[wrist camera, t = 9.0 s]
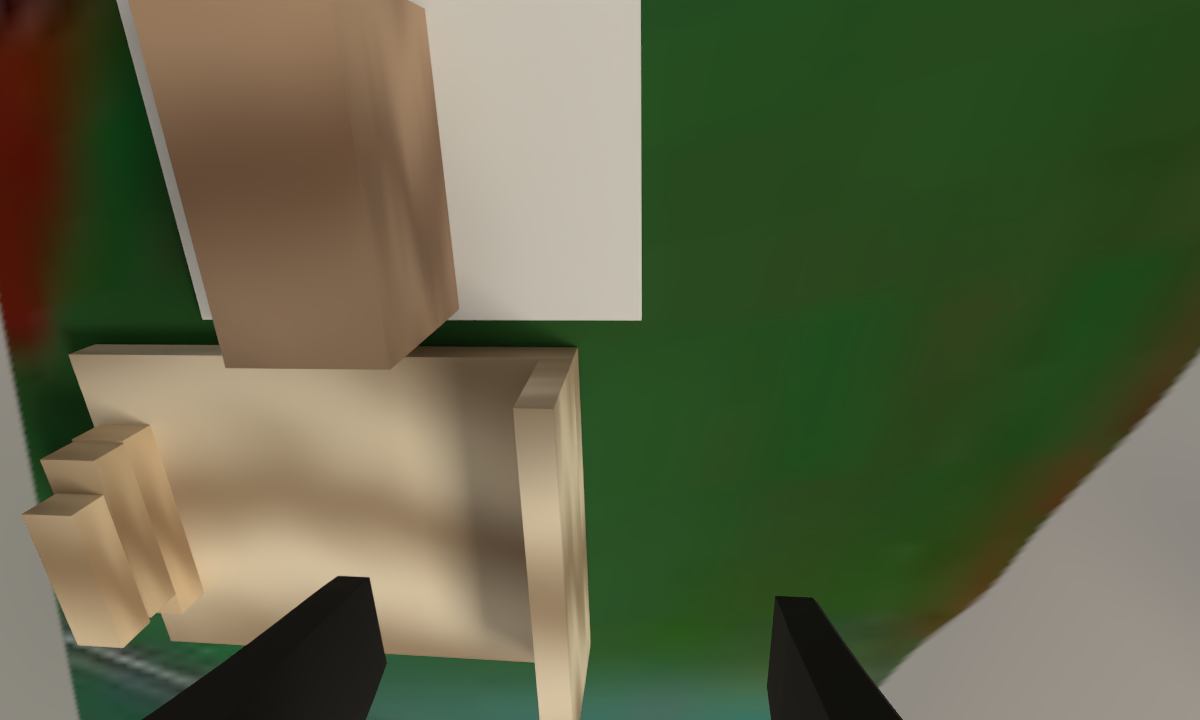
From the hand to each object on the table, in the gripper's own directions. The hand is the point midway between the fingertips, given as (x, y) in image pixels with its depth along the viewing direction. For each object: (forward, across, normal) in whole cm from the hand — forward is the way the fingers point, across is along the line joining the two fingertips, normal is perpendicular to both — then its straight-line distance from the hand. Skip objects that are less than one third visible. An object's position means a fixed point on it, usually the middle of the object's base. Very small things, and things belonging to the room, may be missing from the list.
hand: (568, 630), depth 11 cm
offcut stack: (+8, +16, +4) cm, 19 cm away
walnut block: (+9, +6, -7) cm, 13 cm away
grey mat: (+9, +6, -8) cm, 14 cm away
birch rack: (+9, +10, +4) cm, 14 cm away
